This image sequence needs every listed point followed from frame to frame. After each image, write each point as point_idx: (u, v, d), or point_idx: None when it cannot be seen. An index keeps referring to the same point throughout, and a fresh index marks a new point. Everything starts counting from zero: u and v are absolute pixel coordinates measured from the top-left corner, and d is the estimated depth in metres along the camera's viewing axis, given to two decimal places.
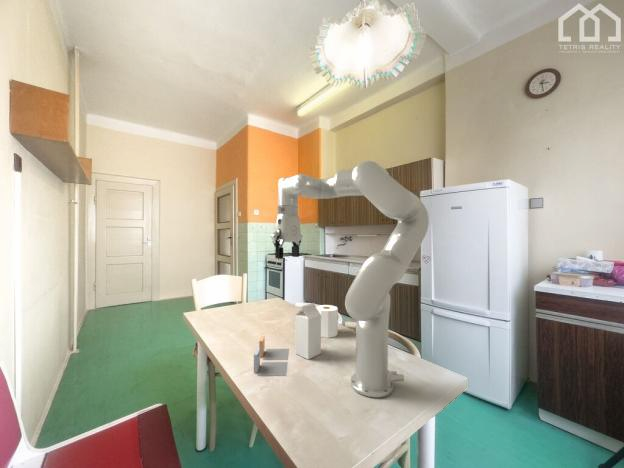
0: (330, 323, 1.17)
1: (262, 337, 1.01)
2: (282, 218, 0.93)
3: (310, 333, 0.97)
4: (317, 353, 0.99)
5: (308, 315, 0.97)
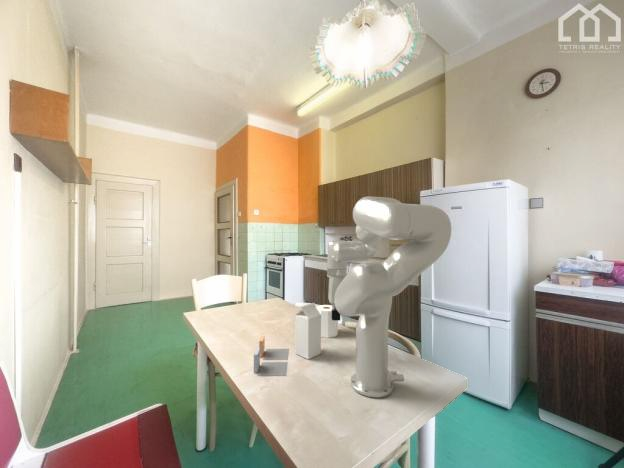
0: (330, 323, 1.17)
1: (262, 337, 1.01)
2: None
3: (310, 333, 0.97)
4: (317, 353, 0.99)
5: (308, 315, 0.97)
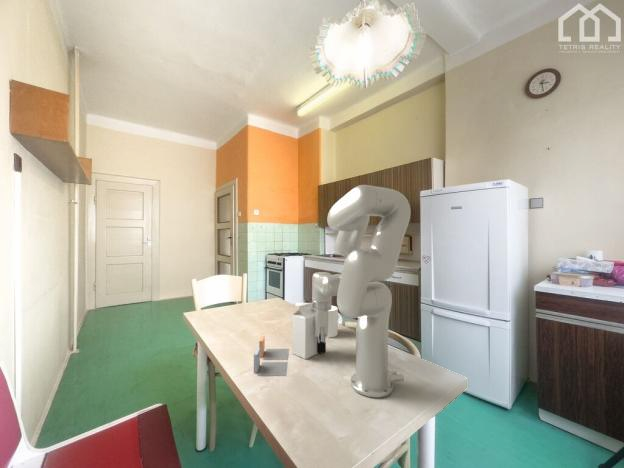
0: (330, 323, 1.17)
1: (262, 337, 1.01)
2: None
3: (307, 332, 0.97)
4: (314, 353, 1.00)
5: (305, 315, 0.97)
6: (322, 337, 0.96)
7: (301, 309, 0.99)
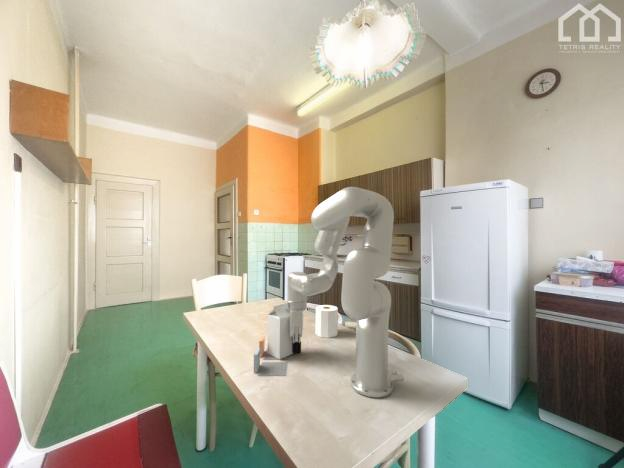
0: (330, 323, 1.17)
1: (262, 337, 1.01)
2: None
3: (282, 333, 0.96)
4: (289, 353, 0.99)
5: (280, 315, 0.97)
6: (296, 337, 0.96)
7: (276, 309, 0.98)
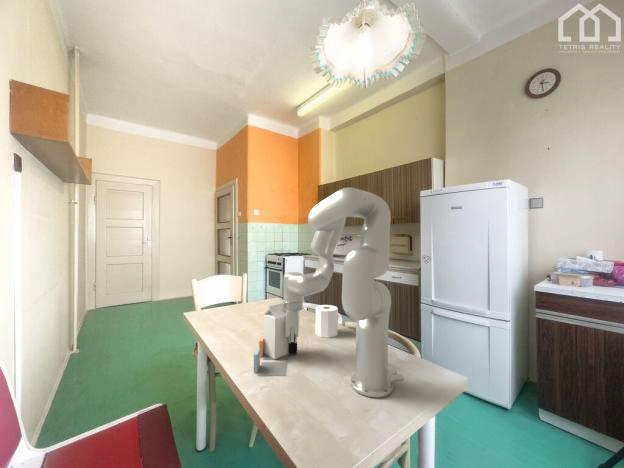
0: (330, 323, 1.17)
1: (262, 337, 1.01)
2: None
3: (277, 332, 0.96)
4: (285, 353, 0.99)
5: (275, 315, 0.97)
6: (292, 337, 0.96)
7: (272, 309, 0.98)
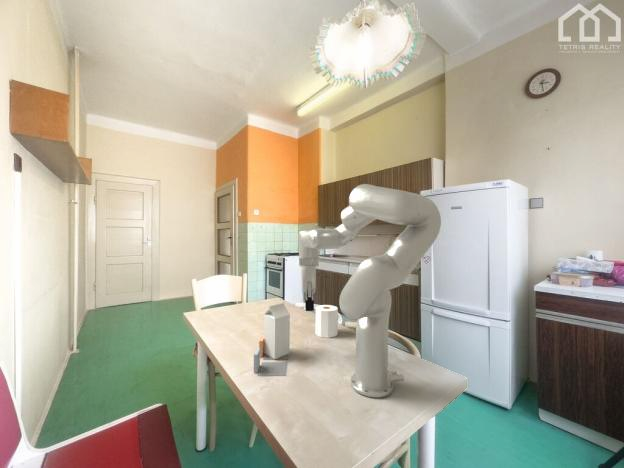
0: (330, 323, 1.17)
1: (262, 337, 1.01)
2: None
3: (277, 332, 0.96)
4: (285, 353, 0.99)
5: (275, 315, 0.97)
6: (309, 292, 0.95)
7: (272, 309, 0.98)
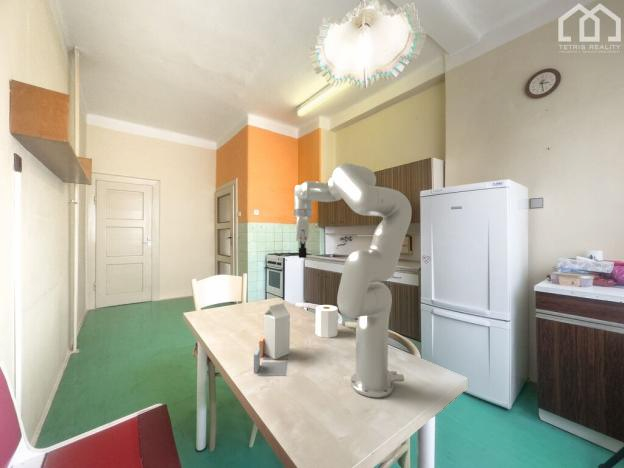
0: (330, 323, 1.17)
1: (262, 337, 1.01)
2: None
3: (277, 332, 0.96)
4: (285, 353, 0.99)
5: (275, 315, 0.97)
6: (302, 239, 1.06)
7: (272, 309, 0.98)
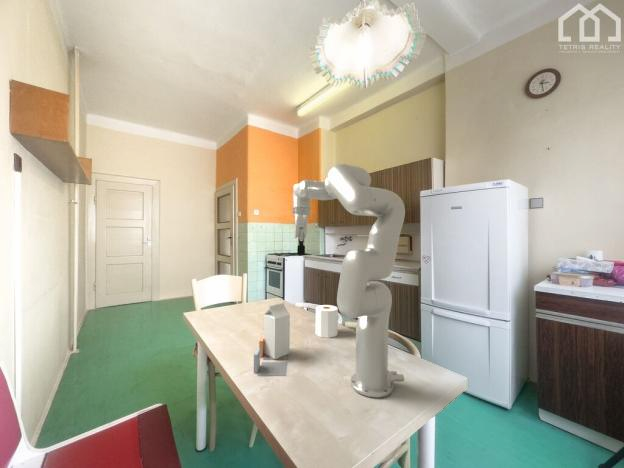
0: (330, 323, 1.17)
1: (262, 337, 1.01)
2: None
3: (277, 332, 0.96)
4: (285, 353, 0.99)
5: (275, 315, 0.97)
6: (301, 237, 1.08)
7: (272, 309, 0.98)
